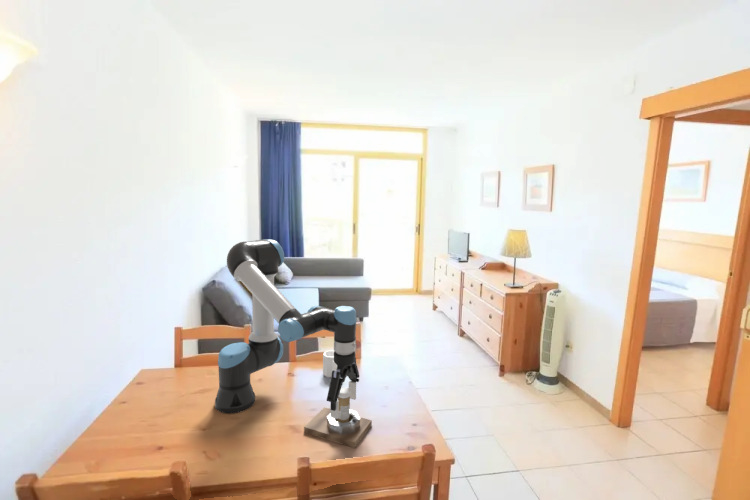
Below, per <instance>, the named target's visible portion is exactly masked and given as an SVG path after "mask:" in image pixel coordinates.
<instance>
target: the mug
mask: <svg viewBox="0 0 750 500" xmlns="http://www.w3.org/2000/svg"><path fill="white" fill-rule="evenodd" d="M336 370H337V364H336V363H335V362H334V349H333V350H331V349H330V350H325V351H324V352H323V354H322V375H323V376H325V377H326V378H332V371H336Z"/></svg>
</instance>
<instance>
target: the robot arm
mask: <svg viewBox="0 0 750 500" xmlns="http://www.w3.org/2000/svg"><path fill="white" fill-rule="evenodd" d="M226 256H227V257H226V265H227V266H226V267H227V269H228V272H229V273H230V274H231V276H232V277H233V278H234V279H235V280H236V281H238V282H241V283H242V284H243V285H244V286H245V287H246V288H247V290H248V291H249V292H250V293H251V295H252V296H251V297H252V302H251V303H252V305H251V306H252V308H251V309H252V312H251V313H252V323H251V324H252V328H251V330H252V332H251V333H250V334H249V335H248V343H247V342H242V341H238V342H234V343H230V344H227V345H226V346H224V347H222V348H221V350H220V351H219V353H218V357H217V366H218V390H217V393H216V397H215V399H214V408H215V410H216V411H217V412H219V413H221V414H229V415H230V414H238V413H243V412H245V411H247V410H249V409H250V408H252V407H253V406H254V405H255V404H256V393H255V391H254V390H253V389H254V388H253V385H252V382H251V375H252V374H254V373H255V372H256V373H257V372H258V371H261V370H263V369H265V368H268V367H272V366H273V365H274V364H277V363H278V362H280V360H281V358H282V357H283V354H284V344H283V343H282V341H284V342H286V343H291V342H295V341H299V340H301V339H302V338H305V337H308V336H310V335H313V334H315V333H318V332H321V331H328V332H331V333H333V350H334V362H335V363H336V364H337V370H336V371H332V378H331V377H330V378H331V380H330V384H329V388H328V392H327V397H326V401H327V402H330V407H329V409H330V417H332V418H335V419H338V414H339V400H338V396H339V393H340V390H341V388H343V383H344V382H345V381H346V378H348V379H349V381H348V388H349V389H350V392H351V393H350V400H356V399H357V383H359V382H360V373H359V368H358V364H357V358H356V347H357V343H356V340H357V339H356V338H357V337H356V332H357V310H356V309H355V308H354V306H350V305H349V306H347V305H340V306H337V307H336V308H334V309H331V308H328V307H325V306H322V305H313V306H311V307H310V309H308V310H307V312H304V313H300V311H299V310H297V308H296V307H295V306H294V305H293V304H292V303H291V302H290V301H289V300H288V299H287V297H286V296H285V295H284V294H283V293H282V292H281V291H280V290H279V289H278V288H277V287H276V285H275V276H277V275H278V273H279V267H280V266H282V265H283V263H284V262H285V253H284V249H283V247H282V246H281V245H280V243H279V242H278V241H277V240H274V239H266V238H265V239H264V238H263V239H256V240H249V241H239V242H238V243H236V244H234V245H233V246H232V247H231V248H230V249H229V251H228V253H227V255H226ZM275 321H276V322H277V324H278V326H277V332H278V333H277V332H275V327H274V326H275ZM278 334H279V336H278Z"/></svg>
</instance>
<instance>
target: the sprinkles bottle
mask: <svg viewBox="0 0 750 500" xmlns="http://www.w3.org/2000/svg"><path fill="white" fill-rule="evenodd" d="M350 393H351V392H350V389H349V387H346V386H345V387H343V386H342V387H341V390H340V393H339V396H338V399H337V400H339V414H338V419H337V422H340V423H346V422H349V415H350V410H351V409H350V407H351V402H350V400H351V399H350Z"/></svg>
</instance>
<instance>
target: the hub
mask: <svg viewBox="0 0 750 500" xmlns="http://www.w3.org/2000/svg"><path fill="white" fill-rule="evenodd" d="M360 417H361V416H359V413H358V412H357V410H353V409H350V415H349V421H350V422H346V423H340V422H337V419H335V418H332V417H330V414H329V415H328V416H327V426H328V428H329V430H330V432H333V433H336V434H339V435H346V434H350V433H354V432H355V431H356V430H357V429H358V427H359V426H360Z"/></svg>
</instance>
